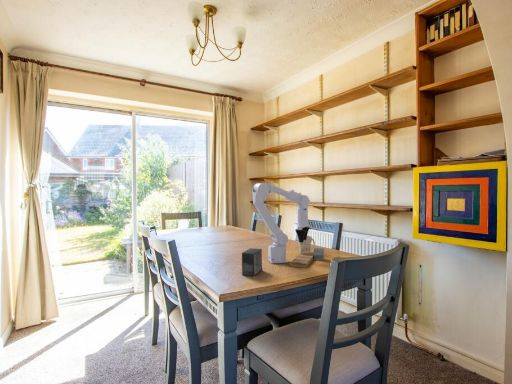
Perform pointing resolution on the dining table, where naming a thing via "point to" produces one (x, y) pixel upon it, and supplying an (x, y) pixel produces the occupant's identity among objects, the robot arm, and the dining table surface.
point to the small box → (251, 262)
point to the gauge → (316, 253)
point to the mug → (306, 244)
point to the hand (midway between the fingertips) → (302, 241)
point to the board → (302, 260)
